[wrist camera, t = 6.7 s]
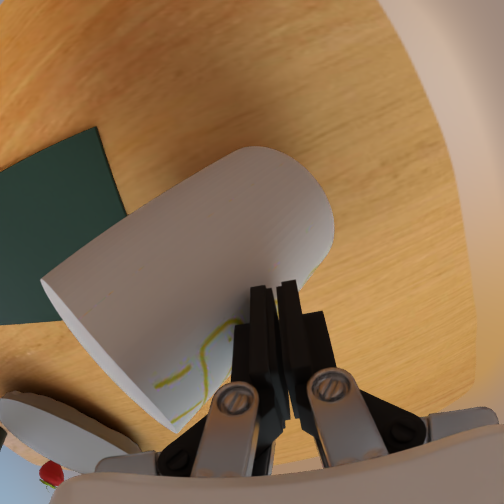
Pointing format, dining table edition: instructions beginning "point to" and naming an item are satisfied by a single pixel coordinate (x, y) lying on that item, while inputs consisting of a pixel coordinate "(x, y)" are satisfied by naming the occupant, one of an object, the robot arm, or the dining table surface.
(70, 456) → the flat disc
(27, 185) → the mat
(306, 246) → the cup
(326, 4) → the dining table surface
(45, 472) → the strawberry
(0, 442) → the wine bottle
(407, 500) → the robot arm
